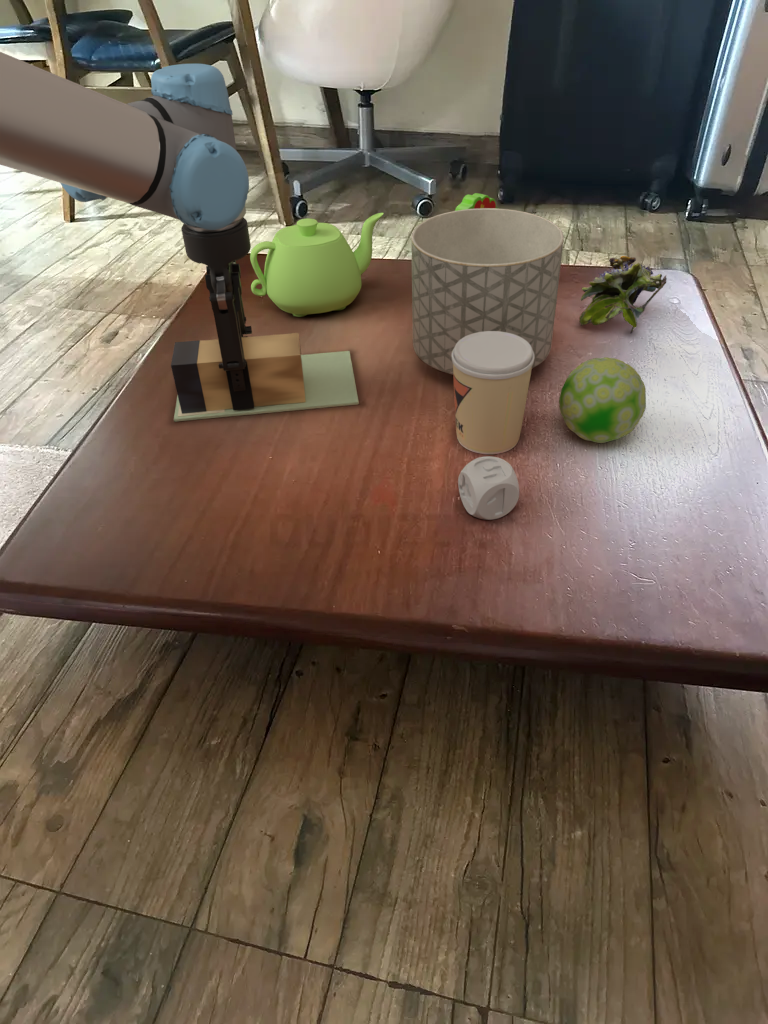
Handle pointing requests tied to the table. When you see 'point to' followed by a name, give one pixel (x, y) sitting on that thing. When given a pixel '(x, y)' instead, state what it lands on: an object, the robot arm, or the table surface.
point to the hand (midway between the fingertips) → (244, 394)
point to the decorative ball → (602, 399)
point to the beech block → (268, 367)
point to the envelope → (322, 382)
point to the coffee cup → (490, 389)
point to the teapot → (312, 267)
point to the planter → (483, 280)
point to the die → (488, 487)
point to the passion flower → (620, 292)
